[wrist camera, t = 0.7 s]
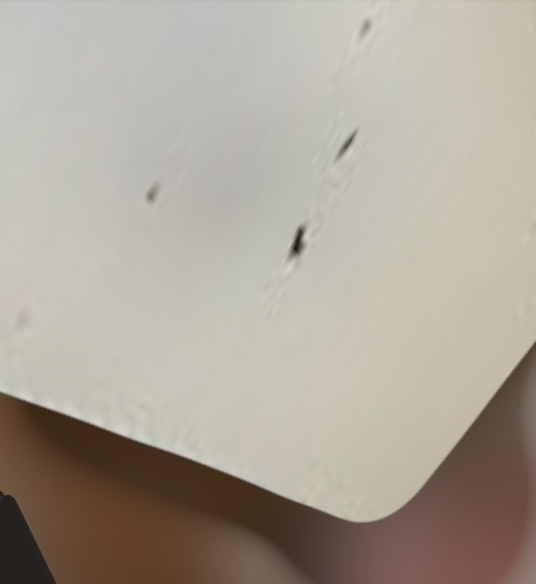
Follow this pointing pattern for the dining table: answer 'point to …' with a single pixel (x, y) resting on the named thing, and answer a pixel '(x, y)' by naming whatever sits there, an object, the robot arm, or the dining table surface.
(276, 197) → the dining table surface
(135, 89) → the dining table surface
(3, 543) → the robot arm
